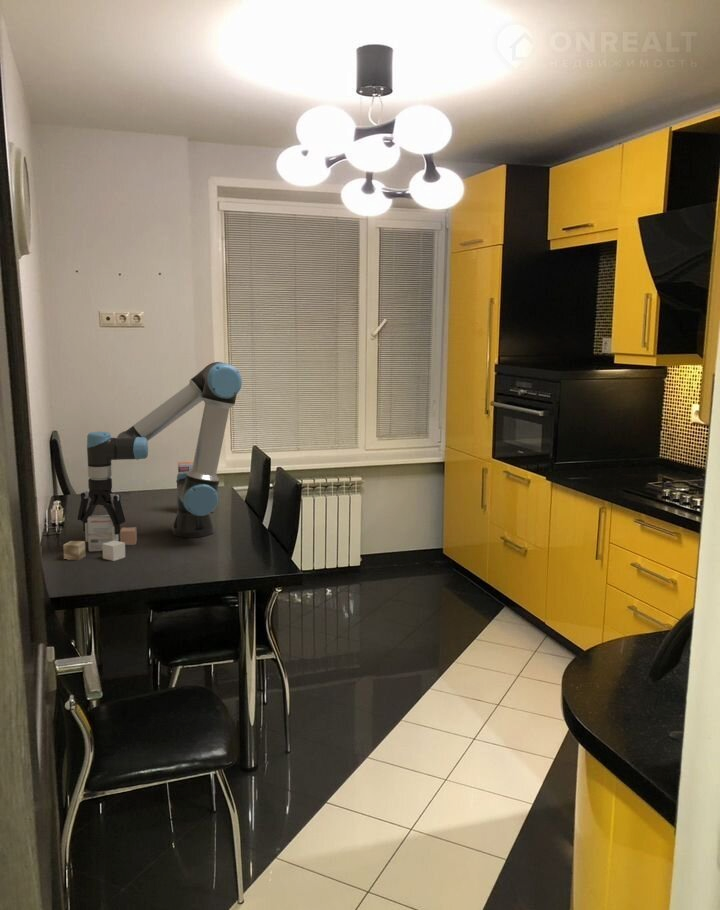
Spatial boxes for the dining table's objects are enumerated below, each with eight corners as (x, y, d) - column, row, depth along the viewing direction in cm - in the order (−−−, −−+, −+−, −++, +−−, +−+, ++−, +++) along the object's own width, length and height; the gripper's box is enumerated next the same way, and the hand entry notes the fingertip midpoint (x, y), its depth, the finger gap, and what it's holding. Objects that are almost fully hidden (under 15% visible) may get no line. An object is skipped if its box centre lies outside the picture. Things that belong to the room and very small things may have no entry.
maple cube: (85, 556, 244) (85, 541, 243) (78, 560, 239) (78, 545, 238) (70, 555, 244) (70, 540, 244) (63, 559, 239) (63, 544, 239)
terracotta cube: (136, 540, 263) (136, 527, 262) (135, 544, 258) (134, 531, 257) (122, 541, 262) (121, 527, 261) (120, 545, 257) (120, 531, 256)
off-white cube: (125, 557, 244) (124, 542, 243) (113, 561, 239) (113, 546, 239) (114, 554, 246) (114, 540, 245) (102, 558, 242) (102, 543, 241)
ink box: (115, 546, 255) (114, 513, 253) (114, 550, 250) (113, 517, 248) (89, 547, 253) (88, 514, 251) (88, 552, 248) (87, 518, 246)
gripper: (135, 478, 249) (136, 542, 252) (78, 473, 254) (80, 536, 257) (123, 482, 241) (124, 547, 245) (64, 477, 247) (66, 541, 250)
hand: (102, 541), depth 251 cm, fingers closed on ink box, 9 cm apart
